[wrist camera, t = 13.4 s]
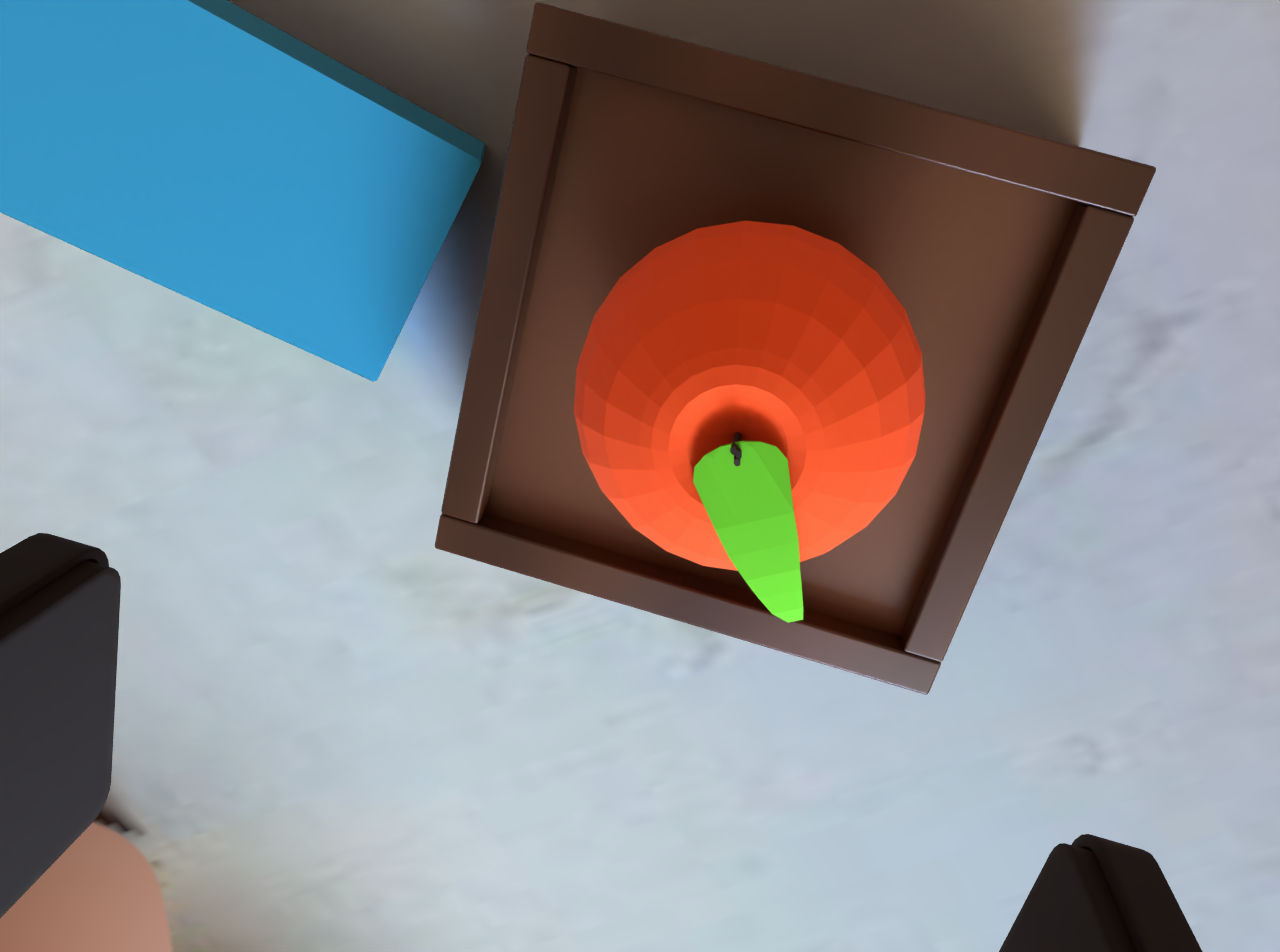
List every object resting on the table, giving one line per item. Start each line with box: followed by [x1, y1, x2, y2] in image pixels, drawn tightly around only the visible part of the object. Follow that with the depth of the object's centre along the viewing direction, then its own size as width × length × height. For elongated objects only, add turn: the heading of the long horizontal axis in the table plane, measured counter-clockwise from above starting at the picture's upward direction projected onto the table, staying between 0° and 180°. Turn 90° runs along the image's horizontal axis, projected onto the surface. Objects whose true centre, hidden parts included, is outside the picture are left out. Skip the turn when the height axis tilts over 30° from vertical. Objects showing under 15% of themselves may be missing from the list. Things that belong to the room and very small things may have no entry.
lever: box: [0, 0, 486, 381], centre depth 26 cm, size 7×7×18 cm
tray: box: [435, 2, 1156, 694], centre depth 25 cm, size 13×13×6 cm
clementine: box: [574, 221, 925, 623], centre depth 20 cm, size 8×7×7 cm
